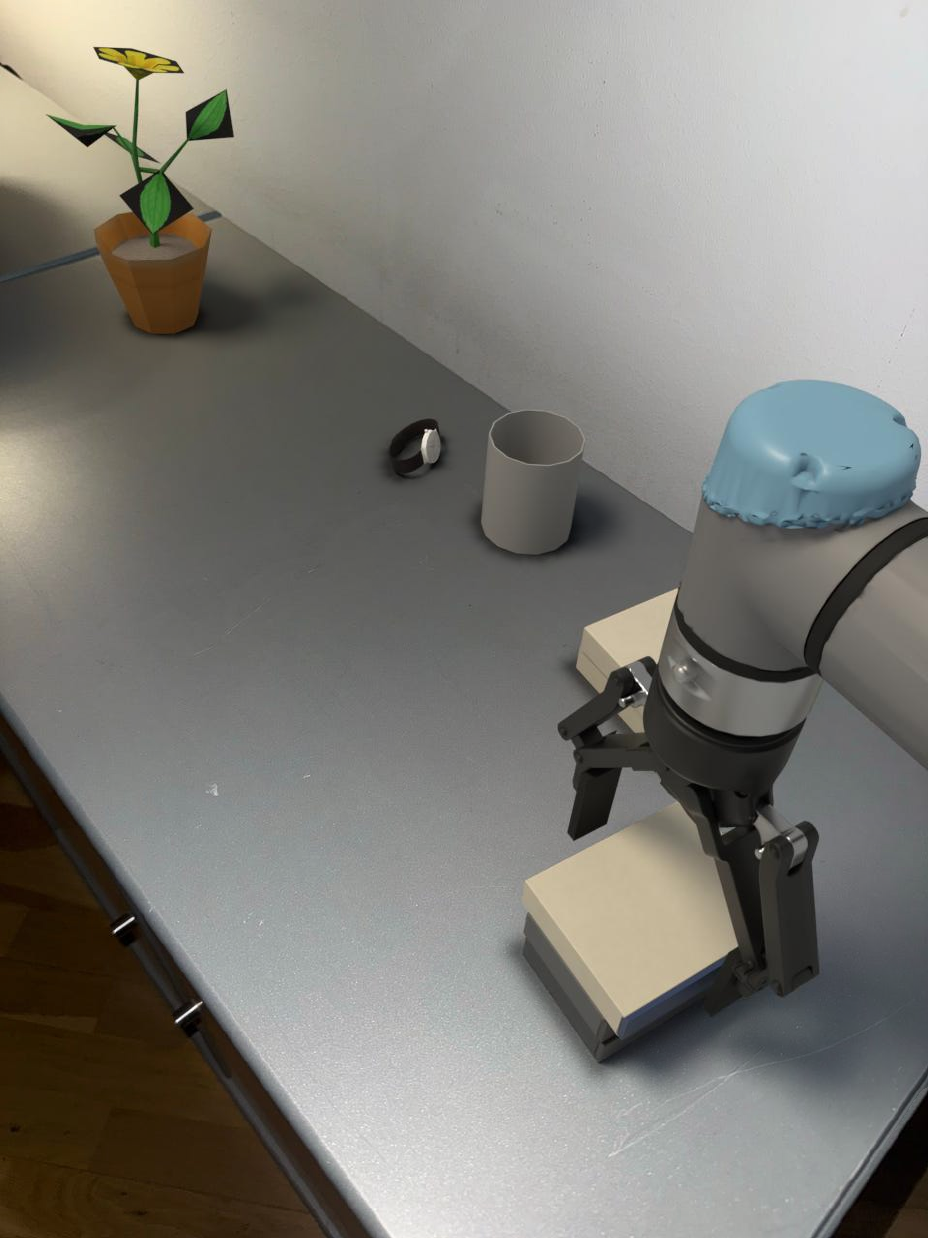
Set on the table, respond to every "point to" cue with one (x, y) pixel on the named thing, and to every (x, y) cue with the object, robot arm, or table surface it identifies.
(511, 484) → the cup
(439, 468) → the table surface
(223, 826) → the table surface
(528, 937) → the grey stack
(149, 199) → the potted plant
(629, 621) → the cream stack
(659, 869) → the cream book
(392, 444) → the watch
